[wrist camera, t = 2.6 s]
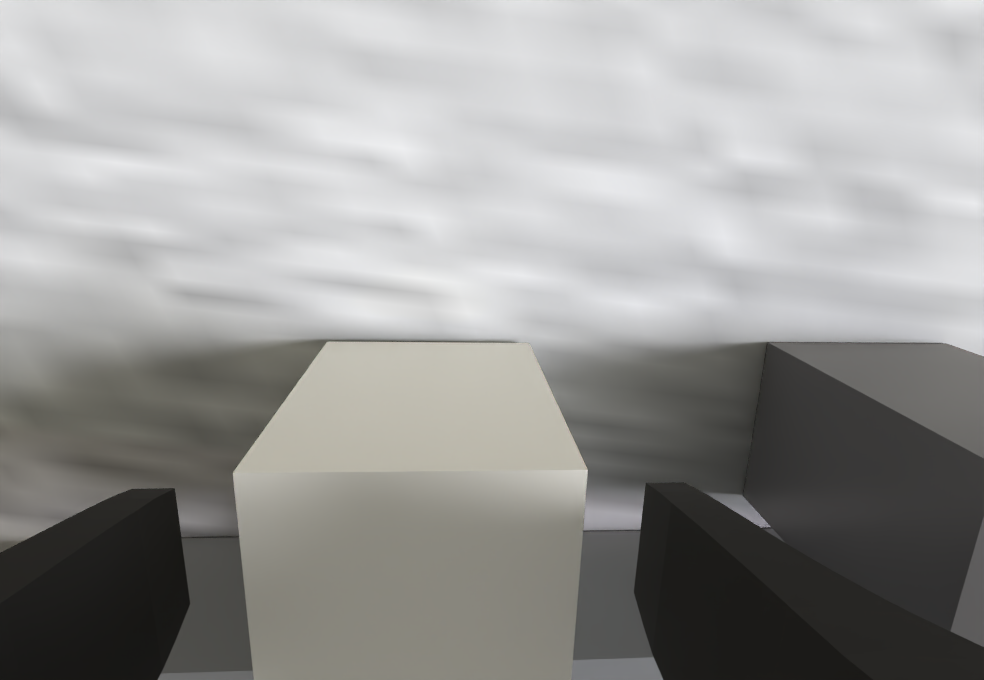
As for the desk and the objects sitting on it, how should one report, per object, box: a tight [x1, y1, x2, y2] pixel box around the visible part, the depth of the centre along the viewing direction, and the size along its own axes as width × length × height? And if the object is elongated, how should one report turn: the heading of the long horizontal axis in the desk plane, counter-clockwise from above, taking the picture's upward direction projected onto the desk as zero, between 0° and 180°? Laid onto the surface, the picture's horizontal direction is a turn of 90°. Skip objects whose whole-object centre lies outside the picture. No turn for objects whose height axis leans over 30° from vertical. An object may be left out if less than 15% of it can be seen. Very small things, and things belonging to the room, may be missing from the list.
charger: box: [233, 342, 588, 680], centre depth 11 cm, size 7×4×6 cm, turn 179°
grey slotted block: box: [158, 342, 984, 680], centre depth 12 cm, size 10×28×6 cm, turn 88°
